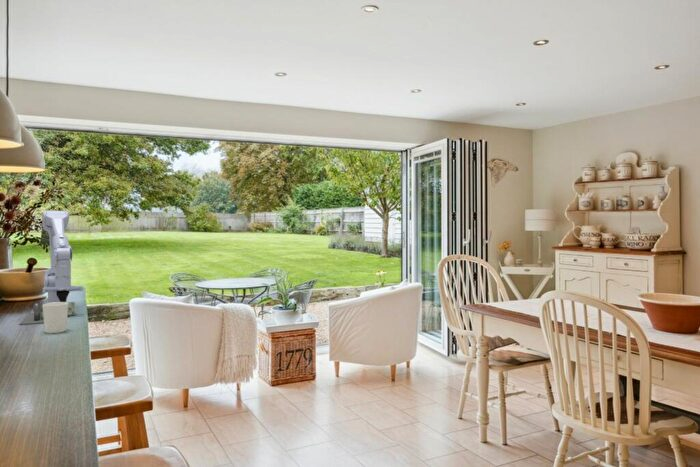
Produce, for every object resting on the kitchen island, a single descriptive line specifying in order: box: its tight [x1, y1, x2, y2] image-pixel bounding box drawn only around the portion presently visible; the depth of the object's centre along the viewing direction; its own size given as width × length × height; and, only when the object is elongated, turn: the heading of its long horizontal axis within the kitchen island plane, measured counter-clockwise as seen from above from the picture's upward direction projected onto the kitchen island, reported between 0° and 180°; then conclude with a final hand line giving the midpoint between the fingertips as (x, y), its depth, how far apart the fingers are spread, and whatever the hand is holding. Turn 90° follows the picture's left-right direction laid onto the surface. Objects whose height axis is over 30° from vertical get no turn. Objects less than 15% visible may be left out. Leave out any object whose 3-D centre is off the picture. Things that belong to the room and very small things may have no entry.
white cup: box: [42, 301, 69, 334], centre depth 182 cm, size 8×8×10 cm
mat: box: [18, 312, 44, 326], centre depth 204 cm, size 22×14×1 cm, turn 23°
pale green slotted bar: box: [40, 301, 76, 319], centre depth 205 cm, size 14×2×5 cm, turn 150°
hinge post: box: [33, 303, 41, 321], centre depth 197 cm, size 2×2×7 cm
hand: (63, 308), depth 209 cm, fingers closed
